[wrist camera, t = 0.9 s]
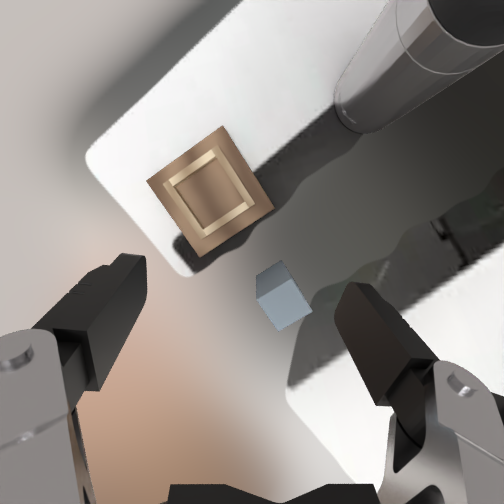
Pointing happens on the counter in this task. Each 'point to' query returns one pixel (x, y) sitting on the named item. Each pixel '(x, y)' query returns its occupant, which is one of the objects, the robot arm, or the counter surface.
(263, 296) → the post block
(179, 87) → the counter surface
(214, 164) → the base board
